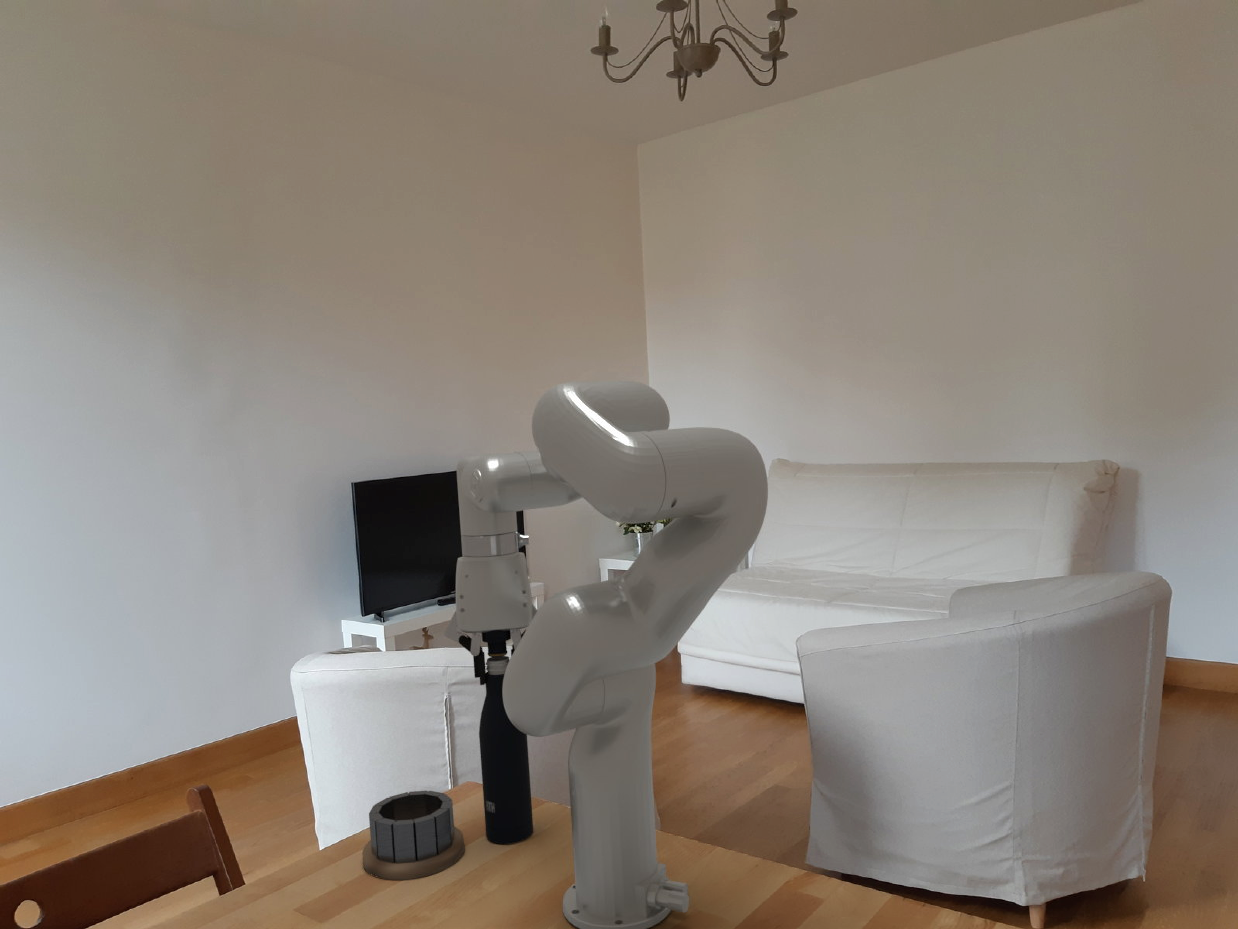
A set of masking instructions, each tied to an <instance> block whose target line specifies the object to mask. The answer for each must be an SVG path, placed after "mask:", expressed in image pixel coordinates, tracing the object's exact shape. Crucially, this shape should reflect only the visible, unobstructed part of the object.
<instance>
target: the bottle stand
mask: <svg viewBox="0 0 1238 929" xmlns="http://www.w3.org/2000/svg"><path fill="white" fill-rule="evenodd" d="M453 805H454V804H453V799H452V798H451V797H450V796H449V795H447V794H446V793H444V792H441V791H440V792H439V791H433V790H418V791H417V790H415V791H414V790H413V791H409V792H408V791H406V792H401V793H398V794H395V795H391V796H388V797H386V798H384V799H382V800H381V801H379V802H376V803H375V804H374V805H373V806H372V808H371V809H370V811H369V812H368V819H369V834H370V840H369V841H367V843H365V845H364V847H363V849H362V853H361V854H362V866H363V865H364V866H363V869H364V868H365V869H366V870H365V869H364V870H365V871H366V873H367V872H368V873H367V874H369V873H370V874H372V875H374V876H377V877H376V878H378V877H379V878H378V879H381V878H382V880H388V881H389V880H390V881H407V880H416V879H420V878H424V877H429V876H432V875H435V874H438V873H440V872H442V871H444V870H447V869H449V868H450V867H452V866H453V865H455V864H456V863H458V861H459V860H460V859H461V858H462V857H463V855H464V853H465V836H464V833H463V831H461V830H460V828H458V827H455V819H454V807H453ZM370 874H369V875H370ZM372 875H371V876H372ZM374 876H373V877H374Z"/></svg>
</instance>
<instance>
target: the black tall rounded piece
mask: <svg viewBox="0 0 1238 929" xmlns="http://www.w3.org/2000/svg"><path fill="white" fill-rule="evenodd" d="M509 640H512V637H511V632H510V630H505V631H504V630H492V631H488V632H482V634H481V642H483V643H487V651H488V652H487V655H488V656H489V657H488V658H487V659H486V661H485V666H486V667H485V669H486V674H485V678H486V684H485V697H484V702H483V705H482V708H481V709H482V710H481V713H480V719H479V720H480V721H479V729H478V736H479V738H478V739H479V751H480V752H479V753H480V764H481V765H480V767H481V781H482V794H483V808H484V823H485V837H486V839H487V840H488V841H489V842H491V843H494V844H497V845H498V844H499V845H508V844H515V843H520V842H522V841H524V840H526V839H528V838H530V837H531V836H532V835H533V833H534V819H533V808H532V807H533V806H532V791H531V790H532V789H531V774H530V762H529V760H530V759H529V758H530V757H529V747H528V746H529V745H528V735H527V734H525V733H523V732H521V731H520V730H518V729H517V728H516V727H515V726H514V725H513V724H512V722H511V721H510V719H509V718H508V716H507V713H506V711H505V708H504V703H503V693H502V689H503V679H504V675H505V671H506V668H507V665H508V662H509V660H510V657H509V656H507V655H508V650H507V649H508V647H507V641H509Z"/></svg>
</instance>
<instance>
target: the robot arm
mask: <svg viewBox="0 0 1238 929" xmlns="http://www.w3.org/2000/svg"><path fill="white" fill-rule="evenodd" d="M531 418H532V419H531V434H532V438H533V442H534V445H535V447H536V450H526V451H525V450H524V451H514V452H504V453H503V452H502V453H492V454H491V453H489V454H487V453H486V454H476V455H467V456H464V457H461V458H460V459H459V460H458V462H457V465H456V482H457V495H458V508H459V525H460V539H461V553H462V554H461V555H462V556H460V557H458V558H457V561H456V569H455V570H456V571H455V611H454V613H453V615H452V617H451V619H449V622H448V624H447V626H446V628H445V630H444V633H443V635H444V636H445V638H448V639H450V640H452V641H454V642H456V643H458V644H460V645H461V646H462V647H463V648H464V649H466V651H468V652H469V653H470V654H471V656H472V658H473V671H474V678H475V679H477V678H479V684H480V686H485V685H486V678H485V674H486V672H487V670H486V659H485V658H486V656H485V651H484V650H483V647H482V646H481V645H482V644H481V642H482V632H488V631H492V630H504V631H505V630H510V632H511V640H512V645H511V649H510V655H511V656H510V657H509V662H508V665H507V668H506V671H505V675H504V679H503V689H502V693H503V703H504V708H505V711H506V713H507V716H508V718H509V719H510V721H511V722H512V724H513V725H514V726H515V727H516V728H517V729H518V730H520V731H521V732H523V733H525V734H527V736H530V737H536V738H537V737H538V738H543V737H548V736H549V737H550V736H554V735H558V734H561V733H565V732H567V731H572V730H574V733H573V735H572V738H571V741H570V746H569V748H568V749H569V750H568V757H567V758H568V759H567V768H568V771H567V772H568V787H569V788H568V789H569V803H570V804H569V806H570V816H571V818H570V819H571V820H570V821H571V834H572V835H571V836H572V837H571V838H572V850H573V851H572V852H573V867H574V868H573V869H574V883H573V884H572V885H570V886H569V887H568V889H567V890H566V891H565V893H564V894H563V898H562V912H563V914H564V917H565V918H566V920H567V921H568V922H569V923H570V924H572V925H573V926H574V927H576V928H578V929H649V928H652V927H654V926H655V925H658V924H659V923H661V921H663V920H664V919H665V918H666V917H667V916H668V915H669V914H670V913H671V911H676V912H681V913H686V912H687V911H688V909H689V907H690V906H689V905H690V896H689V894H688V890H689V888H688V887H689V886H688V883H686V882H681V881H673V880H670V879H669V877H667V868H666V867H667V866H666V865H667V864H665V863H661V862H658V854H657V853H658V851H657V838H656V837H657V835H656V817H655V801H654V800H655V799H654V797H655V796H654V784H653V783H654V782H653V781H654V780H653V760H652V759H653V758H652V715H653V707H654V700H655V699H654V698H655V694H656V693H655V691H656V683H657V671H656V663H659V662H661V661H662V660H663V659H665V658H666V657H667V656H669V654H670V653H671V652H672V651H673V650H674V649H675V647H676V646H677V645H678V643H679V642H680V640H682V638H683V637H684V636H685V634H686V633H687V631H688V630H689V629H690V627H691V626H692V625H693V624H694V623H695V621H696V620H697V619H698V617H699V616H700V615H701V613H702V612H703V611H704V609H705V608H706V606H707V605H708V603H709V601H711V599H712V597H713V596H714V595H715V594H716V592H717V591H718V590H719V589H720V588H721V586H722V585H723V584H724V583H725V582H726V581H727V580H728V579H729V577H730V576H731V575H732V574H733V572H735V570H736V569H737V568H738V566H739V565H740V564H741V563H742V561H743V560H744V559H745V557H746V556H747V555H748V553H749V552H750V550H752V547H753V546H754V544H755V542H756V540H757V539H758V536H759V534H760V533H761V530H762V527H763V524H764V521H765V516H766V513H767V506H768V498H769V497H768V496H769V487H768V486H769V484H768V475H767V468H766V465H765V462H764V460H763V456H762V454H761V452H760V450H759V449H758V448H757V446H756V445H755V444H754V443H753V442H752V441H751V440H750V439H749V438H747V437H746V436H744V435H743V434H741V433H739V432H736V431H732V430H730V429H725V428H719V427H706V426H705V427H703V426H702V427H701V426H700V427H685V428H684V427H683V428H669V427H670V423H671V418H670V411H669V406H668V404H667V403H666V401H665V399H664V398H663V397H662V395H661V394H660V393H659V392H658V391H657V390H656V389H654V388H653V387H651V386H649V385H647V384H645V383H642V382H640V381H633V380H623V379H622V380H618V379H617V380H597V381H569V382H563V383H558V384H555V385H554V386H552V387H550V388H549V389H548V390H546V391H545V393H543V394H542V395H541V397H540V398H539V400H538V401H537V403H536V406H535V408H534V410H533V413H532V417H531ZM582 498H583V499H584V500H585V501H586V502H587V503H588V504H589V505H591V507H592V508H593V509H594V510H596V511H597V512H598V513H599V514H601V515H602V516H604V517H605V518H607V519H610V520H611V521H614V522H615V523H622V524H630V525H631V524H643V523H650V522H658V521H664V520H671V519H672V521H670V522H669V523H667V525H665V526H663V528H661V529H660V530H659V531H658V532H657V533H655V534H654V535H653V536H652V537H650V539H649V540H648V541H647V542H646V543H645V544H644V546H643V547H642V548H641V550H640V551H639V552H638V555H637V557H636V558H635V560H634V561H633V563H632V564H630V567H629V568H628V569H627V570H626V571H625V572H624V573H623V574H621V575H619V576H617V577H614V578H610V579H608V580H604V581H599V582H594V583H588V584H583V585H578V586H573V587H570V588H566V589H563V590H560V591H559V592H557V593H555V594H554V595H552V596H550V597H549V598H547V599H546V600H545V601H544V602H543V603H541V605H540V607H539V608H536V606H535V605H534V604H533V597H532V590H531V581H530V573H529V568H528V562H527V559H526V556H525V553H524V552H521V551H520V550H519V549H521V548H522V547H524V546H526V545H528V546H529V544H530V543H529V539H530V538H529V534H520V532H518V523H517V521H518V520H517V512H522V511H526V510H527V511H528V510H529V511H530V510H536V509H545V508H553V507H560V506H565V505H568V504H570V503H574V502H576V501H578V500H580V499H582ZM519 551H520V552H519ZM521 629H524V630H523V632H522V633H521ZM468 634H471V637H470V636H469V635H468Z"/></svg>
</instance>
